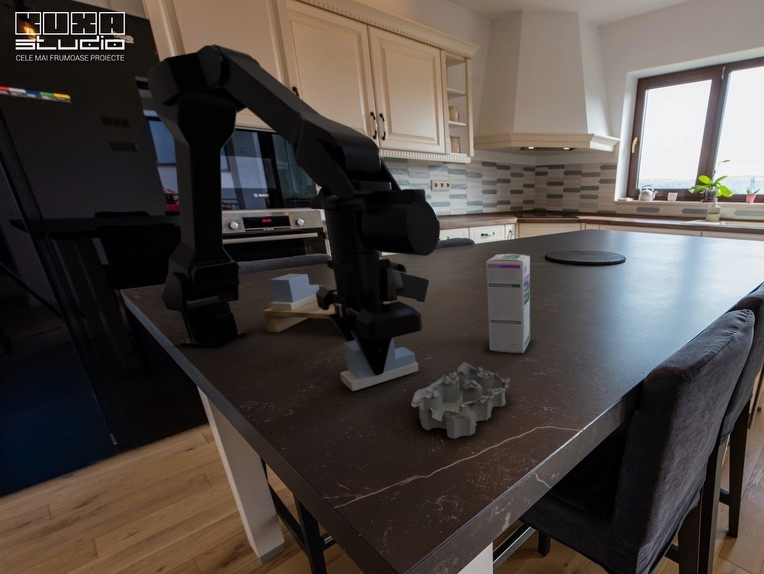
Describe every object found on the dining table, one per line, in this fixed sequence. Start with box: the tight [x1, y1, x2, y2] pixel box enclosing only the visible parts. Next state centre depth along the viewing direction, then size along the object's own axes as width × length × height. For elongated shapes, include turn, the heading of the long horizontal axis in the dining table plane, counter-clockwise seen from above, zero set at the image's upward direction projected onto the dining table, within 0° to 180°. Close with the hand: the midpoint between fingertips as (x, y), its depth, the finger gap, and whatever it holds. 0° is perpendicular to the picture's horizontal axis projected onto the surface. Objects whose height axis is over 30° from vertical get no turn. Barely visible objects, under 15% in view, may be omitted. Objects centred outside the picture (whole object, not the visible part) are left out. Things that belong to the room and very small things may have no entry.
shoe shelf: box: [262, 284, 391, 333], centre depth 74 cm, size 18×12×6 cm, turn 81°
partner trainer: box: [269, 273, 320, 310], centre depth 73 cm, size 9×4×5 cm, turn 171°
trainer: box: [339, 338, 419, 392], centre depth 53 cm, size 9×4×5 cm, turn 131°
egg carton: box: [411, 361, 511, 440], centre depth 45 cm, size 11×8×4 cm
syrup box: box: [485, 253, 531, 354], centre depth 62 cm, size 6×6×14 cm
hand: (372, 369), depth 52 cm, fingers closed on trainer, 3 cm apart
